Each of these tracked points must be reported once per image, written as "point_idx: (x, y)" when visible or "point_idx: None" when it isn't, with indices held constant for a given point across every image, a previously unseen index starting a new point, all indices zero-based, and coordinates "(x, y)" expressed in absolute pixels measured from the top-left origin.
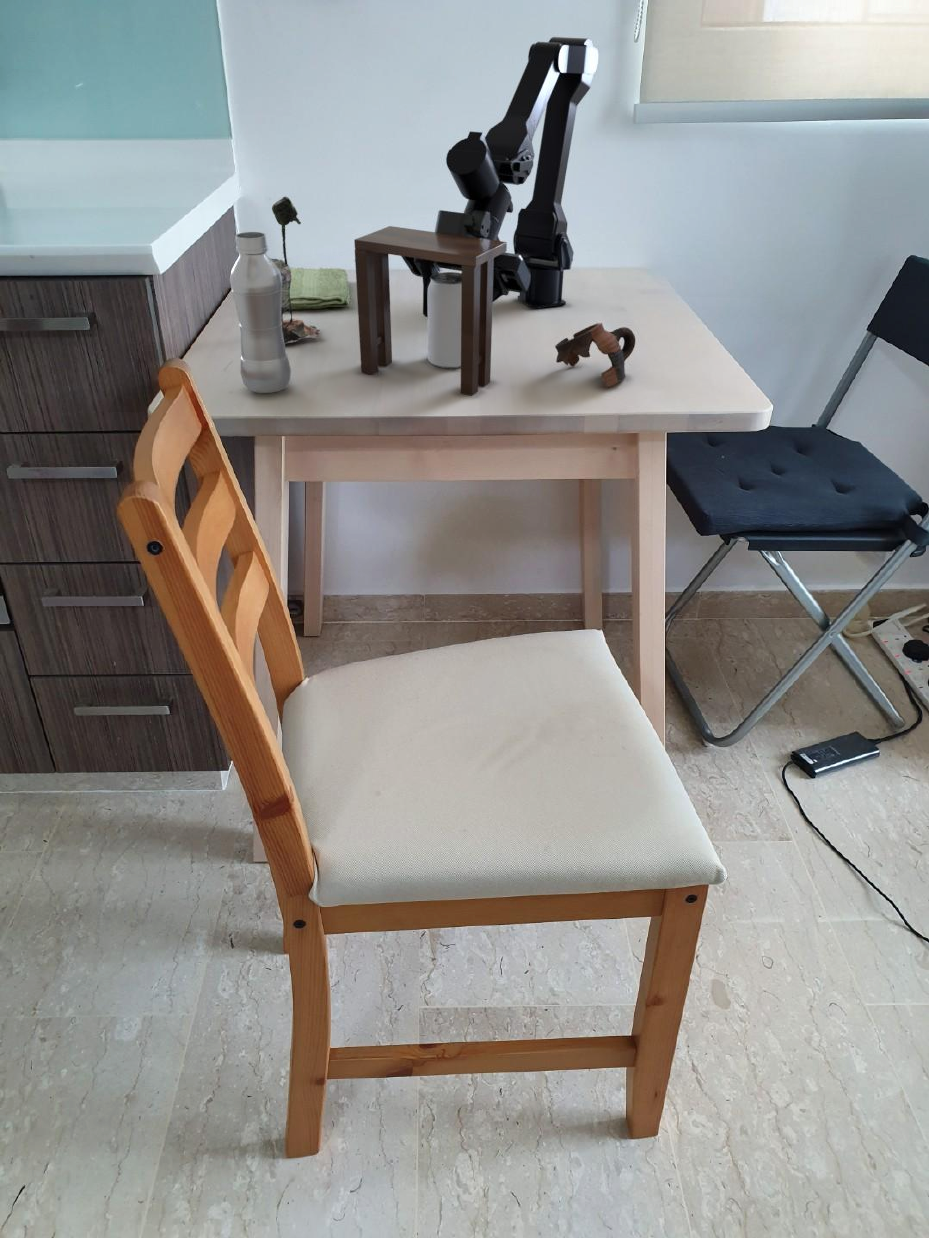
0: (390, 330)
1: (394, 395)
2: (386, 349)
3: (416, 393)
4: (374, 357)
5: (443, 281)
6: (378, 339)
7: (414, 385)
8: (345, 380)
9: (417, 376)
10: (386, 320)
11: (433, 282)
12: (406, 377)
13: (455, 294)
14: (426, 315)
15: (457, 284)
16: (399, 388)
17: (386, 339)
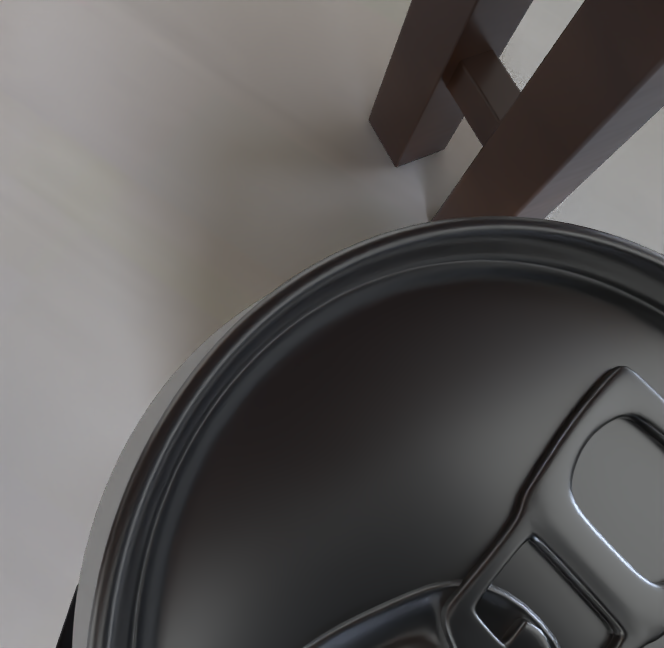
0: (533, 186)
1: (93, 55)
2: (462, 191)
3: (41, 136)
4: (402, 95)
5: (516, 436)
6: (475, 98)
7: (135, 188)
8: (375, 14)
9: (229, 268)
10: (548, 100)
11: (537, 248)
12: (251, 220)
13: (123, 456)
14: None
15: (141, 532)
16: (150, 117)
17: (488, 166)
